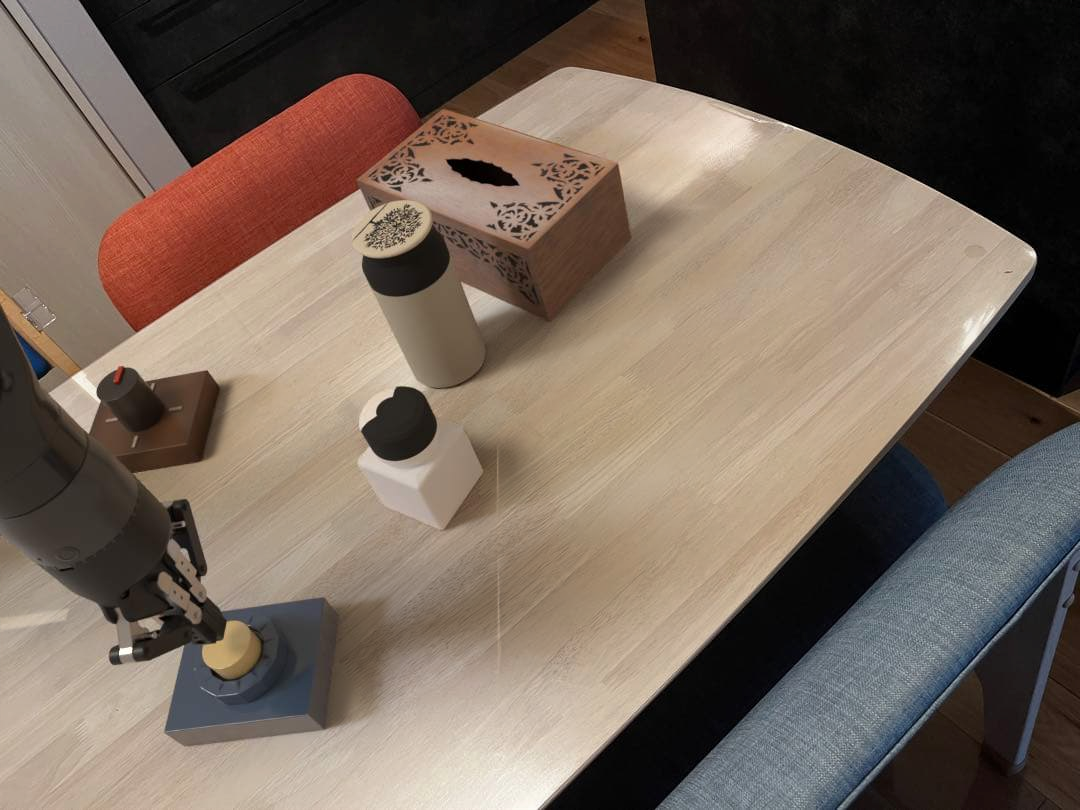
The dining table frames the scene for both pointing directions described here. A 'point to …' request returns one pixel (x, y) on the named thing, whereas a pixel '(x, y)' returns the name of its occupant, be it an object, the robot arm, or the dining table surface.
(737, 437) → the dining table surface
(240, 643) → the tan button cap
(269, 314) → the dining table surface
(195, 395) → the dial panel
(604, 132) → the dining table surface
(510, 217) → the tissue box cover
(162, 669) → the dining table surface
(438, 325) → the travel mug
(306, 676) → the button housing
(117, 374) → the dial
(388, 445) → the medicine bottle
